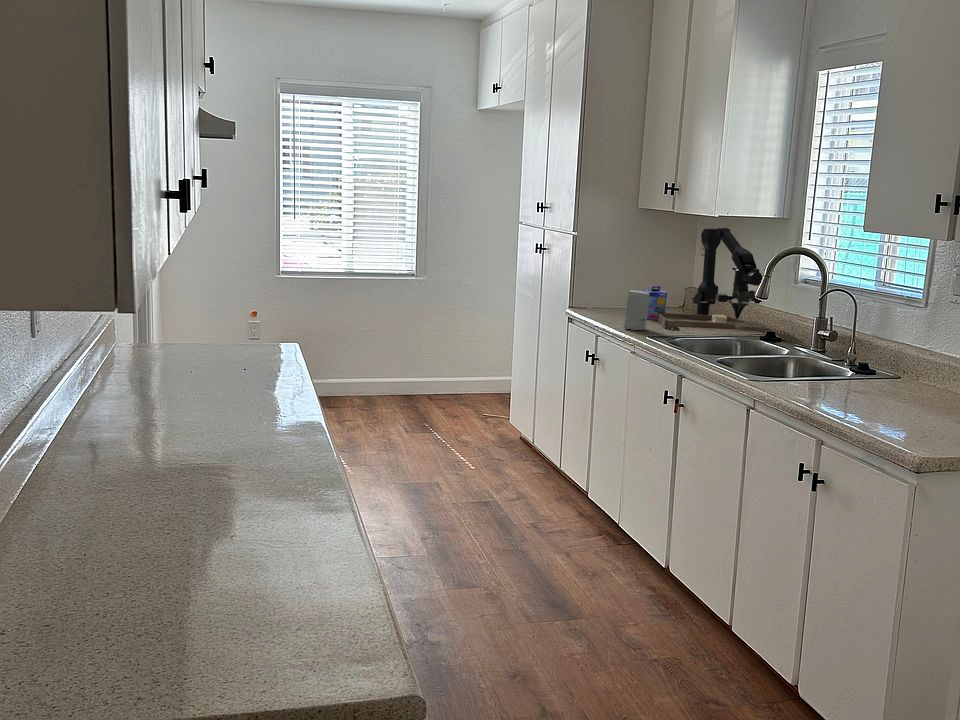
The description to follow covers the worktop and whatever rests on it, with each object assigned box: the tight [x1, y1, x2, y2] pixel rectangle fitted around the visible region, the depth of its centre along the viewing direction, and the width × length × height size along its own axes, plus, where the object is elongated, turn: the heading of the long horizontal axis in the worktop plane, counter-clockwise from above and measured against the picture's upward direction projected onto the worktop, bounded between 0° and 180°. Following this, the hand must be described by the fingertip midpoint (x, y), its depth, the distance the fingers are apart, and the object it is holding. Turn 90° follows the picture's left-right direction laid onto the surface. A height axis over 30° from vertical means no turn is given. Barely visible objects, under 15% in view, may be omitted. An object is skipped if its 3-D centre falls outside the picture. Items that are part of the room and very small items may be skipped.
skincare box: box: [623, 289, 650, 331], centre depth 383 cm, size 8×7×16 cm
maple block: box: [711, 314, 728, 323], centre depth 397 cm, size 5×5×4 cm
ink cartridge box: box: [642, 285, 668, 320], centre depth 410 cm, size 10×6×14 cm, turn 101°
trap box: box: [656, 312, 736, 330], centre depth 397 cm, size 18×29×4 cm, turn 90°
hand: (736, 318), depth 397 cm, fingers closed
